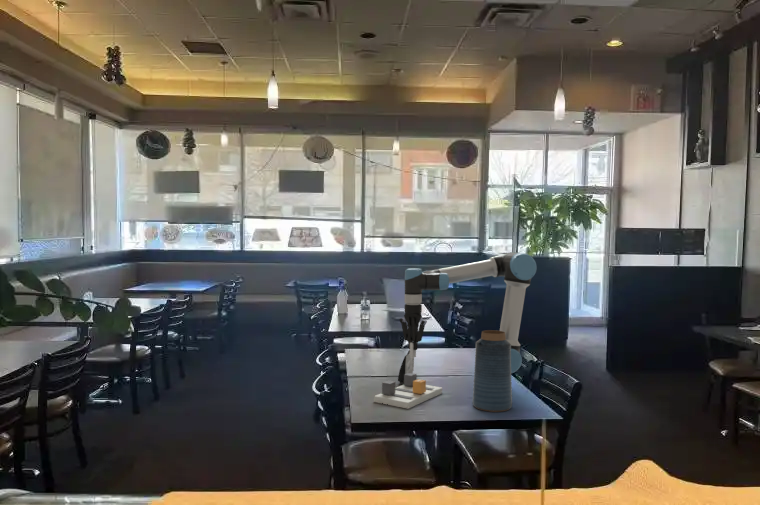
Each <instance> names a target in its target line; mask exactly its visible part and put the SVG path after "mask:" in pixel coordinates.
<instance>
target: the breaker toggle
mask: <svg viewBox="0 0 760 505" xmlns="http://www.w3.org/2000/svg"><path fill="white" fill-rule="evenodd" d="M426 385H427V380H424V379H422V378H421V379H419V378H418V379H417V378H416V380H415V381H413V393H418V394H422V393H424V392H426Z"/></svg>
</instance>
